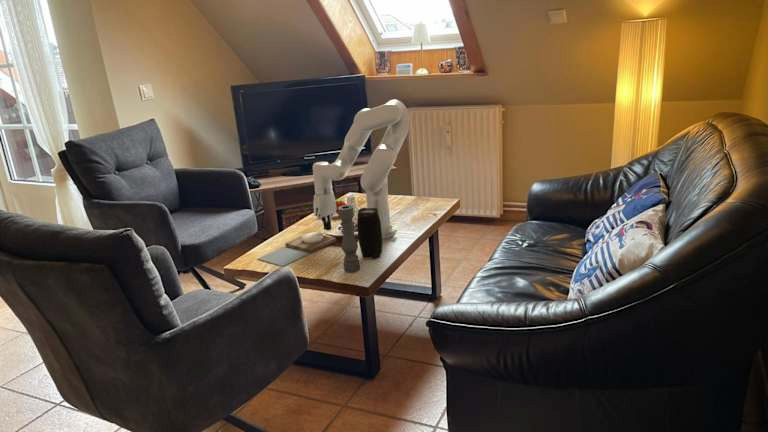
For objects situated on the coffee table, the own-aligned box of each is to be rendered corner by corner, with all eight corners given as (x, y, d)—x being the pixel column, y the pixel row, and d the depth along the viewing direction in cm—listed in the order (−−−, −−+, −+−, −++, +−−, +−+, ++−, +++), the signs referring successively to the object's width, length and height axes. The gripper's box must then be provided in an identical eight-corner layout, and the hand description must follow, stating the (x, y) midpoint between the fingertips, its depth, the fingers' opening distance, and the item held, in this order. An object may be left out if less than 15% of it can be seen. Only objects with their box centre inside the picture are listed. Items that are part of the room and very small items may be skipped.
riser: (336, 241, 242) (335, 238, 242) (311, 253, 232) (310, 249, 231) (310, 236, 252) (310, 232, 252) (285, 247, 242) (285, 243, 241)
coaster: (327, 237, 243) (327, 234, 242) (312, 244, 236) (312, 240, 236) (313, 234, 249) (313, 230, 248) (298, 241, 242) (297, 237, 242)
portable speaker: (358, 254, 226) (353, 208, 220) (380, 250, 228) (376, 205, 222) (363, 262, 218) (358, 214, 212) (386, 257, 220) (381, 211, 214)
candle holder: (344, 267, 215) (336, 205, 207) (360, 265, 215) (353, 204, 207) (344, 273, 209) (337, 210, 201) (360, 272, 209) (354, 208, 201)
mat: (310, 254, 231) (310, 253, 231) (282, 266, 220) (282, 265, 220) (285, 247, 241) (284, 246, 241) (257, 259, 230) (257, 258, 230)
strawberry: (337, 213, 282) (335, 194, 279) (350, 214, 278) (347, 195, 275) (330, 217, 277) (328, 197, 274) (343, 218, 273) (341, 199, 270)
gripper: (329, 185, 251) (333, 223, 257) (305, 193, 241) (309, 233, 246) (341, 187, 247) (345, 225, 252) (317, 195, 236) (321, 236, 242)
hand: (327, 229), depth 249 cm, fingers closed
